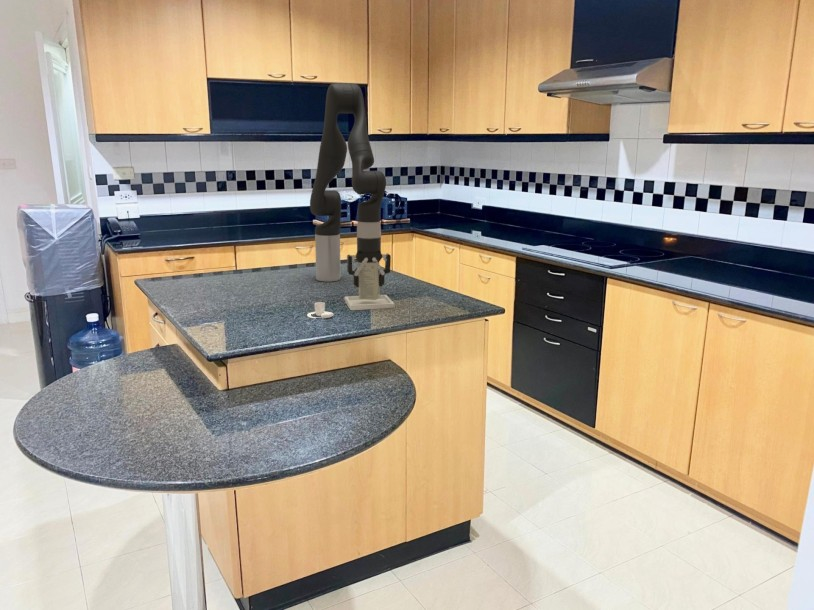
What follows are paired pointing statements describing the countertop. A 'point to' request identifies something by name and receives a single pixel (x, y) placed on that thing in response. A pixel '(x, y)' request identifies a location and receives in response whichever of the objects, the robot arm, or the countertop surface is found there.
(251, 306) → the countertop surface
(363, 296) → the skincare box
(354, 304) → the tray
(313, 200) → the robot arm
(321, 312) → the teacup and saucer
